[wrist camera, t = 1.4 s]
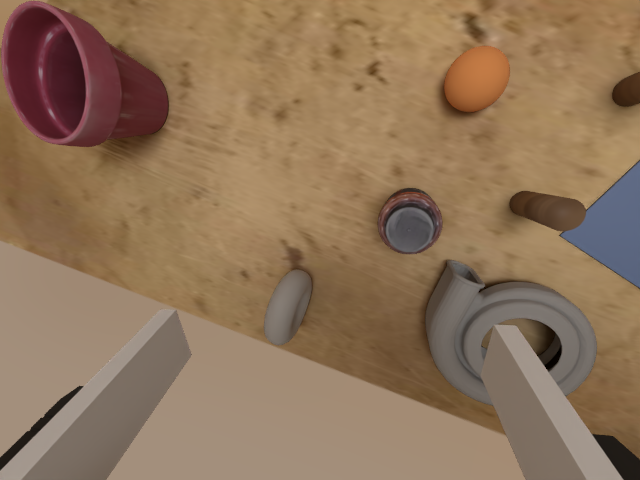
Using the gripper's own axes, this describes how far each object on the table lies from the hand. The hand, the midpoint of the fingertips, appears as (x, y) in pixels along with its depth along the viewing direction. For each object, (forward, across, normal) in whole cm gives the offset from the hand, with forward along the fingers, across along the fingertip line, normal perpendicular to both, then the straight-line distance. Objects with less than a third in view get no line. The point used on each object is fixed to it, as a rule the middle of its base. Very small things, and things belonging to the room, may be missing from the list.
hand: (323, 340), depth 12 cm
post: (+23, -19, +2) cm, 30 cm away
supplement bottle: (+25, -7, +3) cm, 26 cm away
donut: (+25, +7, +15) cm, 30 cm away
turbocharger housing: (+21, -18, +17) cm, 32 cm away
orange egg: (+24, -12, -10) cm, 29 cm away
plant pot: (+34, +31, -11) cm, 48 cm away
